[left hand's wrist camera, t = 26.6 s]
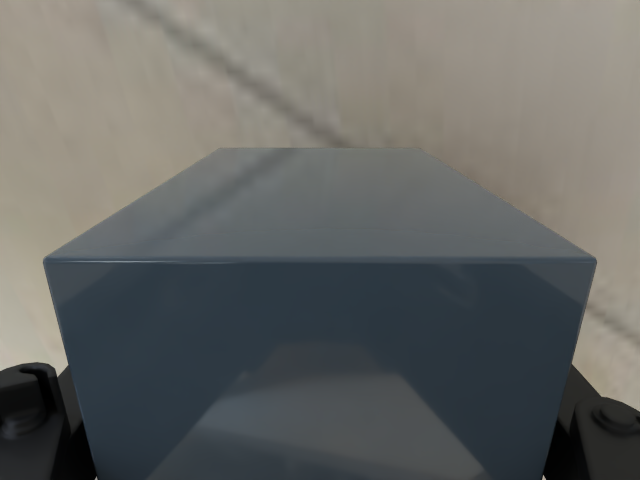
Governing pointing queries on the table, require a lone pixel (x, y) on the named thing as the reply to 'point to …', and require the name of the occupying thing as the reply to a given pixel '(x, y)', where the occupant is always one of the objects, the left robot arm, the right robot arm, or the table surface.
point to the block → (319, 323)
